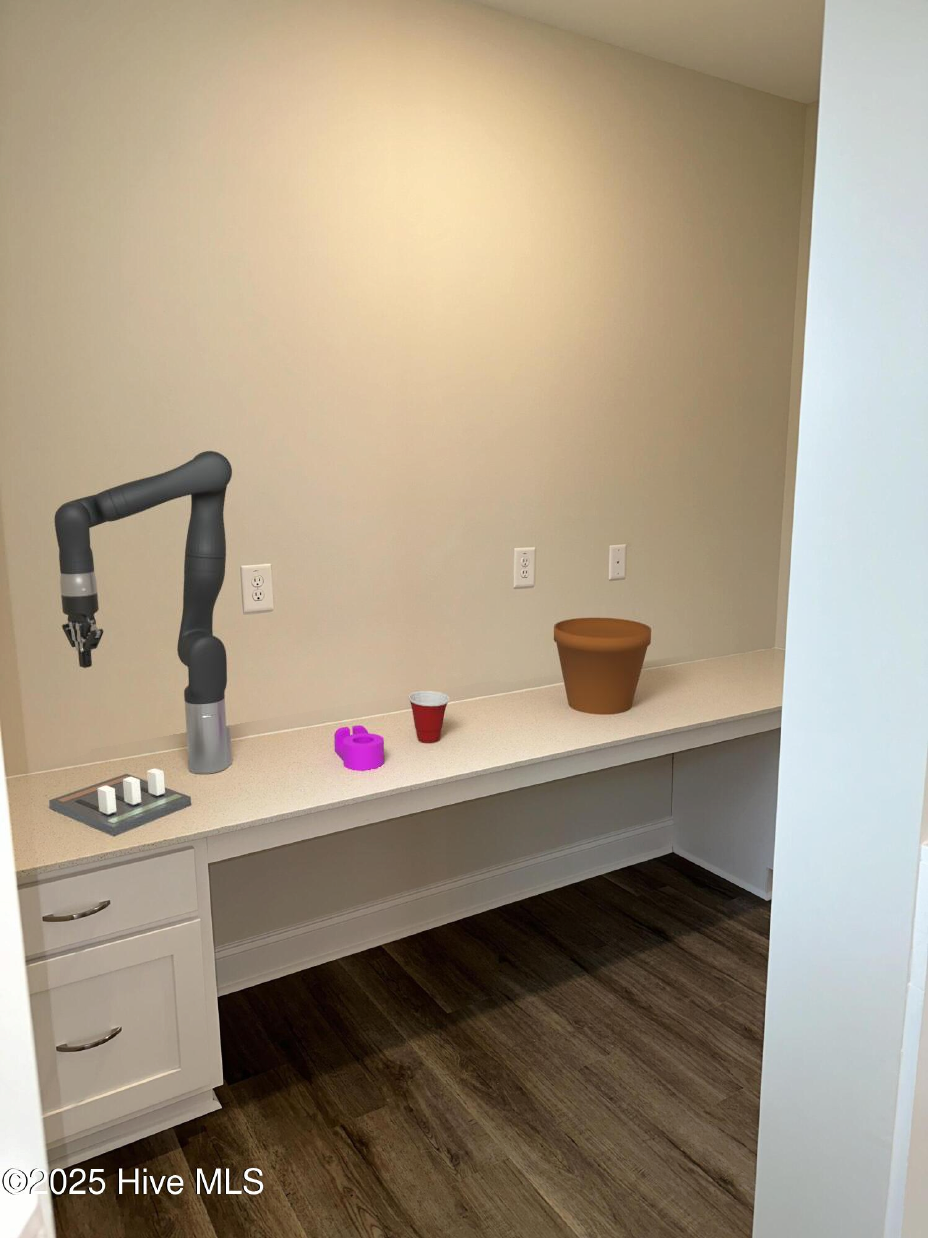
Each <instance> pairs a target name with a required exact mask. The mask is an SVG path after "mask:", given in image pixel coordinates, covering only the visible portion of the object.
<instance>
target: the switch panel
mask: <svg viewBox="0 0 928 1238" xmlns="http://www.w3.org/2000/svg"><path fill="white" fill-rule="evenodd" d="M128 777H134V778H136V779H139V780H140V792H141V802H139V803H137V804H134V805H132V804H130V803H127V802H125V801H124V789H123V779H125V778H128ZM106 785H107V786H109V787H112V788H114V789H115V799H116V812H113V813H110V814H106V813H103V812H101V811H99V801H98V789H97V788H100V787H103V786H106ZM48 802H49V809H50V810H51V809H52V810H51V811H54V810H55V811H54V812H56V811H57V813H59V814H60V815H63V814H64V815H63V816H65V815H66V817H68V818H70V819H73V820H75V821H77V822H80V823H81V824H84V825H87V826H89V827H91V828H94V829H95V830H99V831H101V832H102V833H105V834H108V835H109V836H111V837H116V836H118V835H121V834H124V833H126V832H128V831H131V830H133V829H135V828H138V827H142V826H144V825H146V824H148V823H150V822H153V821H156V820H157V819H161V818H163V817H166V816H168V815H170V814H173V813H175V812H177V811H180V810H183V809H185V808H187V807H190V806H192V798H191V796H190V795H187V794H184V793H181V792H179V791H176V790H173V789H170V788H168V787H165V793H163V794H160V795H158V796H157V795H154V794H151V793H149V791H148V780H146V779H143V778H140V777H136V776H134V775H131V774H129V773H124V774H121V775H118V776H115V777H112V778H110V779H107V780H104V781H101V782H98V783H95V784H93V785H90V786H89V785H88V786H86V787H83V788H82V789H78V790H74V791H72V792H69V793H67V794H63V795H61V796H58V797H55V798H52V799H49V800H48Z"/></svg>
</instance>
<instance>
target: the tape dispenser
mask: <svg viewBox="0 0 928 1238" xmlns="http://www.w3.org/2000/svg"><path fill="white" fill-rule="evenodd" d="M351 729H352V731H351ZM351 732H352V734H351ZM333 736H334V737H333V739H334V753H335V754H337V756H338V757H339V759H341V760H342V763H343V767H345V768H346V769H348V770H350V769H351V771H355V770H356V771H357V772H366V771H367V770H369V771H372V770H371V769H374V770H377V768H378V767H380V768H381V766H382V765H383V764H384V765H385V742H384V741H385V738H384V737H383V736H382V735H379V734H377V733H370V732H369V730H368V729H367V728H366V727H365V726H363V725H352V726H351V728H349V726H344V727H340V728H337V729H336V730H335V732H334V735H333ZM384 765H383V766H384ZM383 766H382V767H383ZM378 769H379V768H378ZM367 772H368V771H367Z"/></svg>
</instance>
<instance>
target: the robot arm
mask: <svg viewBox="0 0 928 1238" xmlns="http://www.w3.org/2000/svg"><path fill="white" fill-rule="evenodd" d="M231 465H232V464H231V463H230V461H229V459H228V458H227V457H226V456H224V455H223V454H222V453H220V452H218V451H213V450H205V451H202V452H200V453H197V454H196V455H195V456H194V457H193V458H192V459H190V460H189V461H187V462H185V463H183V464H181V465H179V466H177V467H175V468H172V469H169V470H168V471H164V472H162V473H159V474H155V475H151V476H147V477H144V478H140V479H136V480H133V481H129V482H126V483H122V484H120V485H117V486H114V487H111V488H108V489H105V490H103V491H101V492H99V493H96V494H92V495H89V496H88V495H87V496H85V497H81V498H77V499H73V500H70V501H67V502H65V503H63V504H61V506H60V507H58V508H57V510H56V512H55V514H54V527H55V528H54V529H55V533H56V535H55V536H56V541H57V546H58V550H59V551H58V560H59V562H58V563H59V571H60V572H59V573H60V577H59V578H60V579H59V585H60V588H59V589H60V596H61V597H60V598H61V609H62V613H63V614H64V615H67V622H66V623H64V624H61V625H62V626H61V629H62V630H63V632H64V634H65V637H66V638H67V640H68V642H69V644H70V646H71V648H75V650H76V651H77V654H78V664H79V667H80V668H83V669H87V668H90V667H92V665H93V661H92V651H93V650H95V649H97V648H98V646H99V644H100V642H101V639H102V636H103V634H104V629H103V628H98V626H97V620H96V618H95V614H96V613H98V612H99V596H98V583H97V578H96V573H95V563H94V554H93V550H92V548H91V532H90V528H93V527H96V526H98V525H102V524H104V523H108V522H110V523H111V522H114V521H115V522H116V521H119V520H121V519H125V518H128V517H131V516H133V515H136V514H139V513H142V512H144V511H146V510H150V509H152V508H154V507H156V506H159V505H161V504H164V503H167V502H170V501H173V500H177V499H180V498H182V497H187V496H190V499H191V503H190V504H191V507H190V519H189V522H188V528H187V534H186V542H185V550H184V560H183V561H184V562H183V563H184V565H183V566H184V567H183V595H182V596H183V597H182V599H183V600H182V601H183V602H182V615H181V622H180V628H179V633H178V639H177V646H176V647H177V656H178V658H179V660H180V661H181V663H182V664H183V665H184V666H186V667H187V671H188V673H187V675H188V677H187V678H188V684H187V686H186V687H185V688H184V690H183V698H184V709H185V726H186V742H187V743H186V744H187V759H188V770H189V772H191V773H193V774H201V775H203V774H205V775H207V774H208V775H209V774H215V773H218V772H221V771H224V770H226V769H227V768H228V767H229V766H231V765H232V764H233V763H232V760H233V759H232V746H231V730H230V729H231V728H230V727H229V726H228V725H227V714H226V699H225V694H226V693H225V691H226V689H227V683H228V662H227V661H228V659H227V651H226V647H225V645H224V642H223V641H222V640H221V639H220V638H219V637H217V636H215V635H214V634H213V633H214V631H213V629H214V628H213V618H214V617H213V616H214V609H215V605H216V602H217V599H218V597H219V594H220V592H221V590H222V587H223V584H224V580H225V576H226V575H225V574H226V560H227V542H226V530H225V529H226V528H225V520H224V519H225V517H224V512H225V511H224V508H225V501H226V499H225V498H226V494H227V488H228V485H229V483H230V482H231V480H232V477H233V469H232V466H231Z"/></svg>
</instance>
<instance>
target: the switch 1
mask: <svg viewBox="0 0 928 1238" xmlns="http://www.w3.org/2000/svg"><path fill="white" fill-rule="evenodd" d="M97 789H98V801H99V811H101V812H103V813H106V814H110V813H113V812H116V799H115V789H114V788H112V787H109V786H107V785H106V786H103V787H100V788H97Z"/></svg>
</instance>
